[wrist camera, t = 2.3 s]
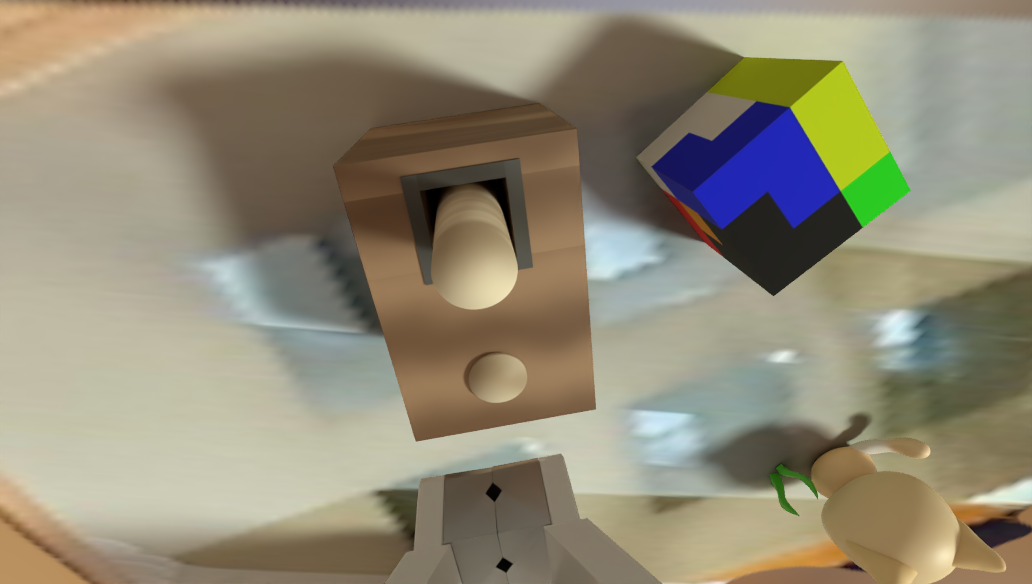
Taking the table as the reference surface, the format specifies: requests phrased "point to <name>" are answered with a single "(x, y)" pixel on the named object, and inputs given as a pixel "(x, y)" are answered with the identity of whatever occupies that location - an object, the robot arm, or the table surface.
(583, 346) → the walnut block
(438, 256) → the peg
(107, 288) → the table surface
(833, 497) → the kitten
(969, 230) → the table surface
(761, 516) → the table surface
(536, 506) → the robot arm
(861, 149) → the puzzle toy
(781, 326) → the table surface
